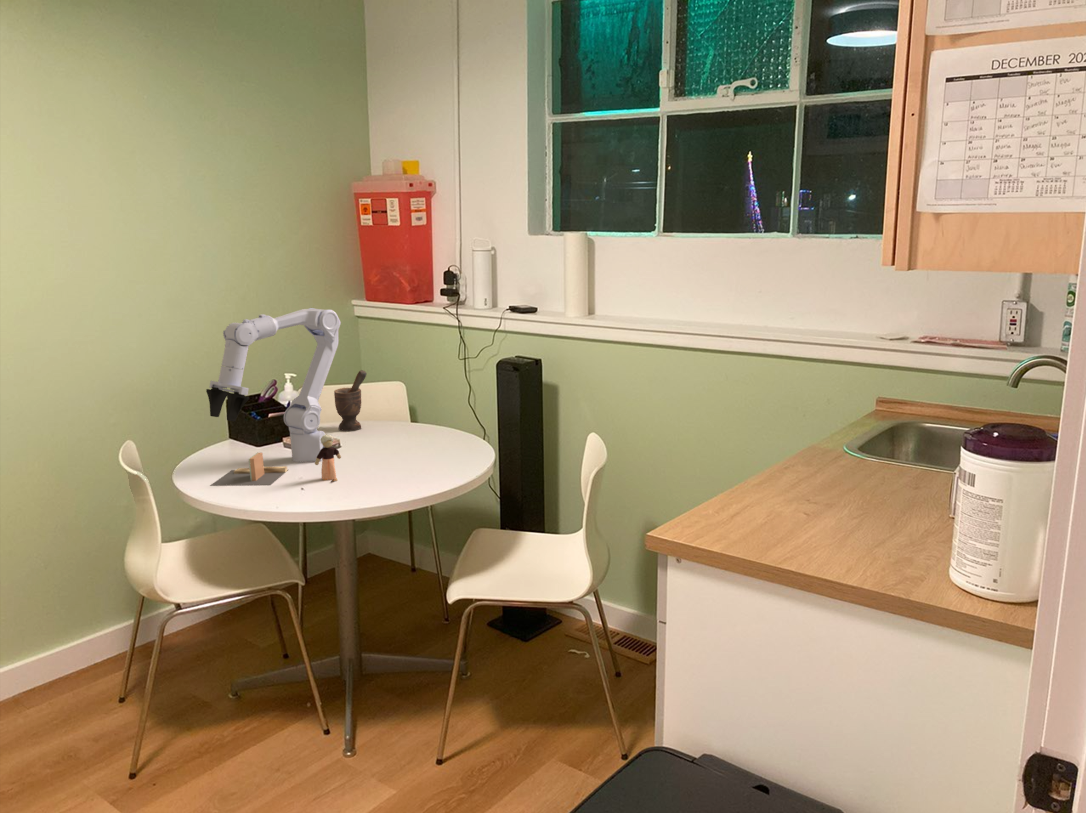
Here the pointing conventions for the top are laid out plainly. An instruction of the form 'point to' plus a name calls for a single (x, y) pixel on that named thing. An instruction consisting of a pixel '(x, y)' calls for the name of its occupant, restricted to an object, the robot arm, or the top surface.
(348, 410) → the mortar and pestle
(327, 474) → the grandmother figurine
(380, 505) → the top surface
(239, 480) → the mat
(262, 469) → the tile
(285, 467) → the light wooden plank
